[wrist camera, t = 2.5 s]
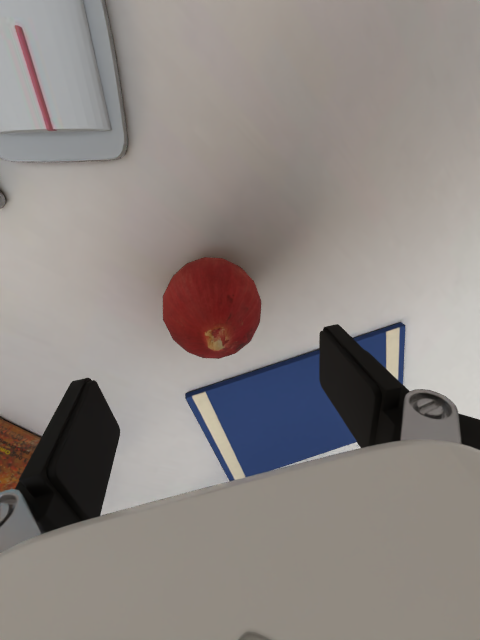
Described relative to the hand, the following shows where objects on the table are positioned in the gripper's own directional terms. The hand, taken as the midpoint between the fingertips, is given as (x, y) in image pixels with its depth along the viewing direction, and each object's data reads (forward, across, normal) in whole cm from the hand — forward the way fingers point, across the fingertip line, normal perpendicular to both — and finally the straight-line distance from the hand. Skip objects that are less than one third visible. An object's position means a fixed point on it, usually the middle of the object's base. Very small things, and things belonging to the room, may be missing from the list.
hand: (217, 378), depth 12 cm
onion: (+10, 0, 0) cm, 10 cm away
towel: (+10, -8, +14) cm, 19 cm away
